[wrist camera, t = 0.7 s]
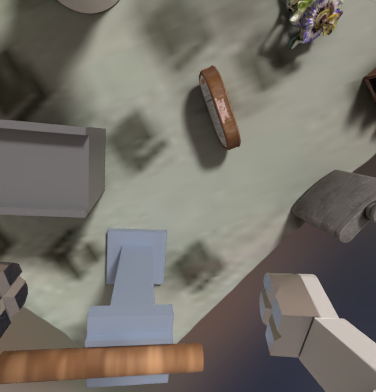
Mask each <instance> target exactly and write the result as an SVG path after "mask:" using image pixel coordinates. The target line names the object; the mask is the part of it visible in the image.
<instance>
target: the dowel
mask: <svg viewBox="0 0 376 392" xmlns="http://www.w3.org/2000/svg"><path fill="white" fill-rule="evenodd" d="M203 363H204V361H203V349H202V345H201V343H185V344H159V345H136V346H113V347H89V348H68V349H67V348H66V349H45V350H44V349H43V350H21V351H4V352H3V353H1V355H0V384H10V383H25V382H42V381H58V380H73V379H91V378H107V377H123V376H139V375H155V374H171V373H187V372H202V371H203Z"/></svg>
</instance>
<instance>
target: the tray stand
mask: <svg viewBox="0 0 376 392" xmlns="http://www.w3.org/2000/svg"><path fill="white" fill-rule="evenodd" d="M105 140H106V129H102V128H92V127H81V126H70V125H59V124H48V123H37V122H27V121H16V120H4V119H0V215H23V216H50V217H77V218H86V216H87V215H88V213H89V212H90V210H91V209H92V208H93V206H94V205H95V203H96V202H97V200H98V199H99V198H100V196H101V195H102V193H103V192H104V189H105Z"/></svg>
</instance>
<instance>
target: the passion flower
mask: <svg viewBox="0 0 376 392" xmlns="http://www.w3.org/2000/svg"><path fill="white" fill-rule="evenodd" d="M285 1H287V2H289V4H288V5H289V11H290V12H291V15H290V19H289V23H290V24H291V25H296V26H298V27H299V28H300V32H299V33H298V34H297V35H296V37H295V38H292V39H291V40H290V41H289V43H288V49H291V50H292V49H293V48H294V47H295V46H296V45H297V44H298V43H302V44H304V43H306V42H307V43H310V42H312V40H314V39H315V38H317V37H318V36H320V33H321V32H323V36H325V35H326V34H328V35H330V34H331V32H332V31H333V30H334V29H335V27H336V25H337V22H338V19H339V18H340V16H341V15H342V14H343V11H340V7H341V5H342V4H343V0H303V1H301V0H285ZM294 5H295V7H293V8H291V7H292V6H294ZM298 5H299V7H298ZM294 10H296V11H294Z"/></svg>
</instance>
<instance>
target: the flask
mask: <svg viewBox="0 0 376 392" xmlns="http://www.w3.org/2000/svg"><path fill="white" fill-rule="evenodd" d="M291 212H292V214H294V215H295V216H297V217H299V218H301V219H302V220H304V221H306V222H308V223H310V224H311V225H313V226H315V227H317V228H319V229H320V230H322V231H324V232H326V233H328V234H329V235H331V236H333V237H335V238H337V239H338V240H341V241H342V242H349V241H351V240H352V239H353V237H354V236H355V235H356V234H357V233H358V232H359V231H360V229H362V228H363V227H364V226H365V225H366V224H367V223H368V222H369V221H370V220H372V221H373V222H376V178H375V177H370V176H365V175H360V174H355V173H350V172H345V171H340V170H334V171H333V172H331V173H329V174H328V175H326V176H325V177H323V178H322V179H320V180H319V181H318V182H316V183H315V184H314V185H313V186H311V187H310V188H309V189H308V190H307V191H306V192H305V193H304V194H303V195H302V196H301V197H300V198H299V199H298V200H297V201H296V202H295V203H294V205H293V206H292V208H291Z"/></svg>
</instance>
